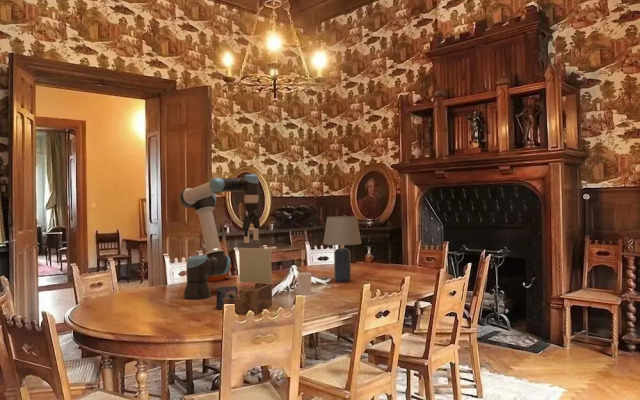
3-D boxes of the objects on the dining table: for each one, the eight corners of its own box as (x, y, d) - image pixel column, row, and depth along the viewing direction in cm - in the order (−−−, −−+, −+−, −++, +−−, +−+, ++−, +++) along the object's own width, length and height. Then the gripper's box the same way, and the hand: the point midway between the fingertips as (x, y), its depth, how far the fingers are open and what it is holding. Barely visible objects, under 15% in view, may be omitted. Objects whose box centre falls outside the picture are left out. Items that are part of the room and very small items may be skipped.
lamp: (318, 279, 350) (318, 216, 349) (353, 277, 357) (352, 215, 357) (330, 285, 326) (330, 218, 325) (367, 283, 333) (366, 217, 333)
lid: (239, 248, 272) (240, 247, 274) (239, 281, 273) (240, 281, 274) (270, 248, 267) (271, 248, 269) (270, 283, 267) (272, 282, 269)
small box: (217, 310, 261) (216, 289, 260) (216, 307, 267) (215, 287, 267) (238, 308, 263) (237, 288, 263) (236, 305, 270) (236, 286, 270)
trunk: (223, 312, 255) (222, 289, 255) (240, 304, 274) (240, 282, 274) (256, 314, 249) (256, 291, 249) (272, 305, 269) (271, 283, 268)
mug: (296, 296, 292) (296, 275, 292) (289, 294, 300) (289, 273, 300) (314, 294, 298) (314, 273, 298) (307, 291, 306) (307, 271, 306)
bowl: (239, 278, 357) (239, 264, 357) (214, 284, 336) (213, 268, 336) (212, 275, 370) (212, 262, 370) (186, 281, 349) (186, 266, 349)
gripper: (249, 203, 267) (249, 244, 268) (265, 202, 291) (265, 239, 292) (235, 203, 269) (235, 243, 270) (253, 201, 293) (253, 238, 294)
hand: (251, 241), depth 281 cm, fingers open, 13 cm apart
